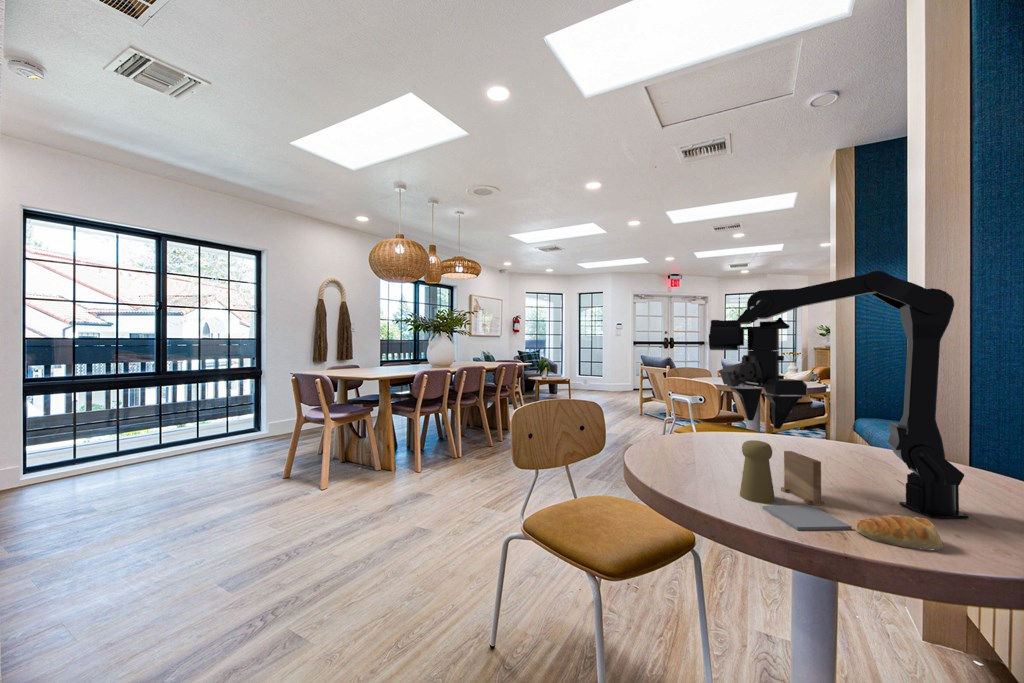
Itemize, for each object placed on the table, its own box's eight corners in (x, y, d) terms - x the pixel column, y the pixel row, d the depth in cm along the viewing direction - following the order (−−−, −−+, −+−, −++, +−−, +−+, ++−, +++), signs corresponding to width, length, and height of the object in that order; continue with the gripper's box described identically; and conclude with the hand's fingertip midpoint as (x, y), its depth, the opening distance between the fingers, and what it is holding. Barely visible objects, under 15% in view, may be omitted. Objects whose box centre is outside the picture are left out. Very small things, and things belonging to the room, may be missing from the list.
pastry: (870, 546, 62) (870, 520, 62) (847, 527, 69) (847, 504, 69) (948, 554, 60) (947, 528, 60) (917, 534, 66) (916, 510, 66)
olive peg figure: (773, 505, 78) (773, 446, 78) (737, 498, 81) (736, 442, 81) (776, 496, 82) (776, 440, 83) (742, 490, 86) (741, 436, 86)
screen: (795, 489, 86) (795, 450, 86) (825, 504, 78) (825, 461, 78) (780, 489, 86) (780, 451, 86) (809, 504, 78) (808, 461, 78)
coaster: (810, 507, 77) (810, 505, 77) (851, 529, 68) (851, 526, 68) (762, 508, 76) (762, 505, 76) (797, 530, 67) (797, 527, 67)
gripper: (704, 350, 98) (704, 416, 98) (750, 351, 79) (751, 433, 79) (751, 350, 98) (751, 416, 98) (809, 351, 79) (809, 433, 79)
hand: (763, 424), depth 88 cm, fingers open, 9 cm apart
